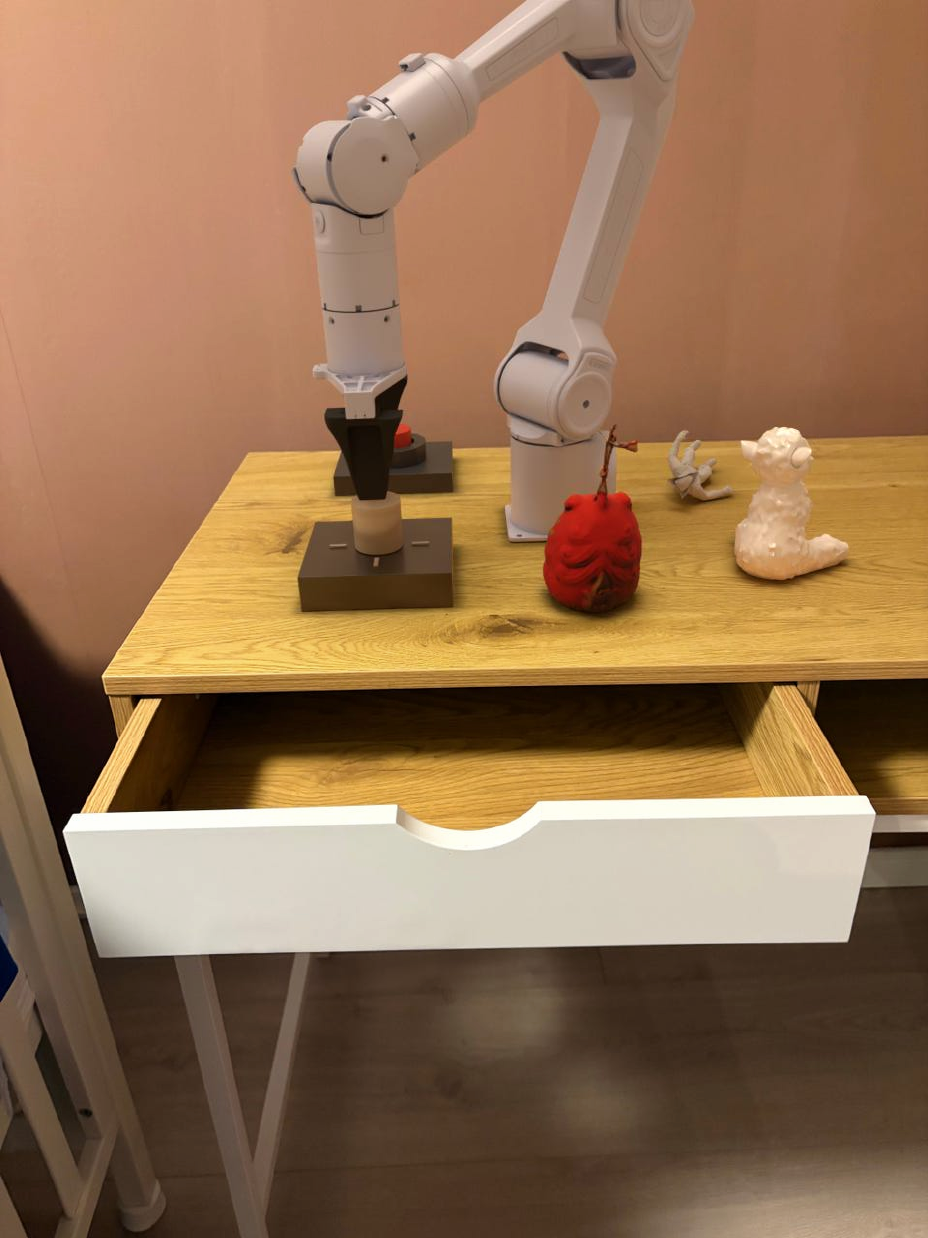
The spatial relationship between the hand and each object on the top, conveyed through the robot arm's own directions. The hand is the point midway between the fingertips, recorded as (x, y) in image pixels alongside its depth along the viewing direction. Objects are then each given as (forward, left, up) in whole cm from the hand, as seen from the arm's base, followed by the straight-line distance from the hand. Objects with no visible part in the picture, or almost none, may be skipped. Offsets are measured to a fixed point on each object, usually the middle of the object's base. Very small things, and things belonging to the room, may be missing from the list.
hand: (375, 480), depth 75 cm
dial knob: (0, +1, -5) cm, 5 cm away
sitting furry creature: (-33, +1, -9) cm, 34 cm away
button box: (0, -23, -8) cm, 25 cm away
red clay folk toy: (-17, +6, -9) cm, 20 cm away
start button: (0, -23, -5) cm, 24 cm away
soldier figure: (-30, -17, -9) cm, 36 cm away
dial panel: (0, +1, -8) cm, 8 cm away
